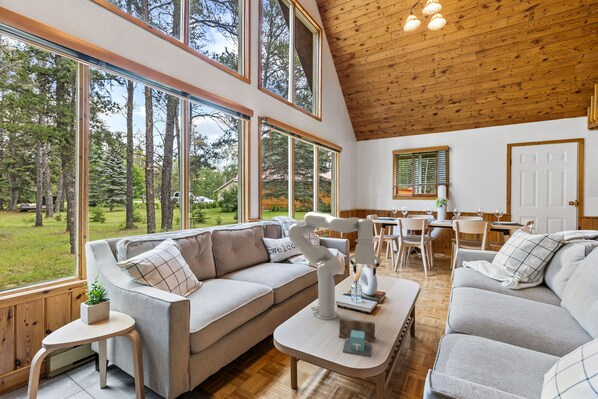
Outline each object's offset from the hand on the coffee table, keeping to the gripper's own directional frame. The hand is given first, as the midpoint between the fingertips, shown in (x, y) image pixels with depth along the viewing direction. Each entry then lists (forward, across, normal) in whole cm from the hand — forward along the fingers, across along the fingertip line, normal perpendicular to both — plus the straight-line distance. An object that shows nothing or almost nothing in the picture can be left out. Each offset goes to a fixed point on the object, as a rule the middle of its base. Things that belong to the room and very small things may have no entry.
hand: (364, 274), depth 148 cm
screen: (+28, -2, -13) cm, 31 cm away
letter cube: (+27, -1, -23) cm, 36 cm away
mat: (+28, -1, -23) cm, 36 cm away
